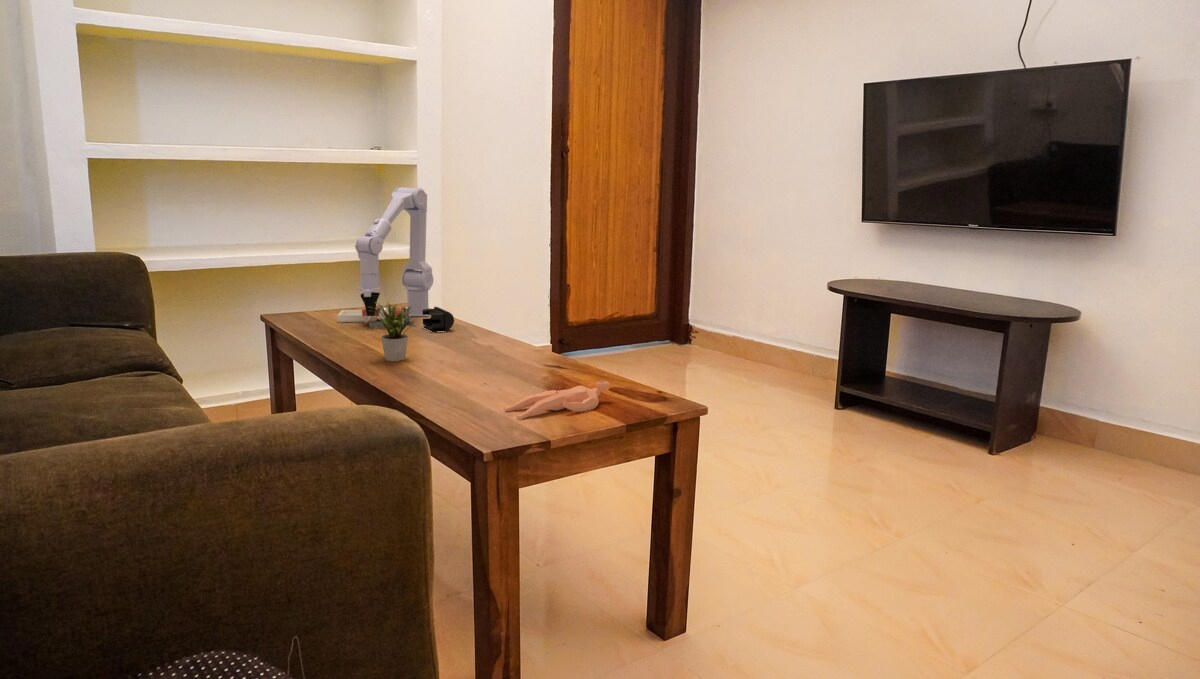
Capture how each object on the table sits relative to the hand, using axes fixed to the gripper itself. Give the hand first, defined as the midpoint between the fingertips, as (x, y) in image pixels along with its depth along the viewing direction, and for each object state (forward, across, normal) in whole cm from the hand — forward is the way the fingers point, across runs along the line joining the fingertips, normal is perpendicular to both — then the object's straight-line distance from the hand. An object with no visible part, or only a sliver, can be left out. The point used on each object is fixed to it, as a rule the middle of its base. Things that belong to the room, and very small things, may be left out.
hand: (370, 315), depth 254 cm
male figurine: (+4, +93, +52) cm, 106 cm away
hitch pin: (+3, +1, +4) cm, 5 cm away
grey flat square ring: (+3, +1, +4) cm, 5 cm away
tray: (+3, -9, -6) cm, 12 cm away
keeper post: (+3, -2, +11) cm, 12 cm away
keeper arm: (0, -2, +3) cm, 4 cm away
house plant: (+3, +46, +10) cm, 48 cm away
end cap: (+4, +6, +22) cm, 23 cm away
